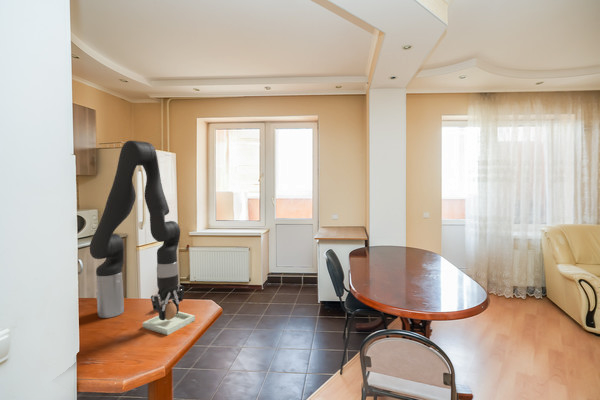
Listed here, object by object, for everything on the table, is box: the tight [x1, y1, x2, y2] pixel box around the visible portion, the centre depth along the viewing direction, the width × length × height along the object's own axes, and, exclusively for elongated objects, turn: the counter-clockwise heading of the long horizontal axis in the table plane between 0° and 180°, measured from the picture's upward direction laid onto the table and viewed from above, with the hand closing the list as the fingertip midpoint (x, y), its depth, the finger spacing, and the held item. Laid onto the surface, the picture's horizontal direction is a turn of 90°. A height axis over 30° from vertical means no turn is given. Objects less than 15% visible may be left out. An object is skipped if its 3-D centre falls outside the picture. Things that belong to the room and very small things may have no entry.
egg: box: [165, 300, 177, 320], centre depth 122 cm, size 5×5×7 cm
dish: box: [142, 310, 196, 336], centre depth 122 cm, size 13×13×2 cm
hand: (169, 316), depth 122 cm, fingers closed on egg, 5 cm apart
